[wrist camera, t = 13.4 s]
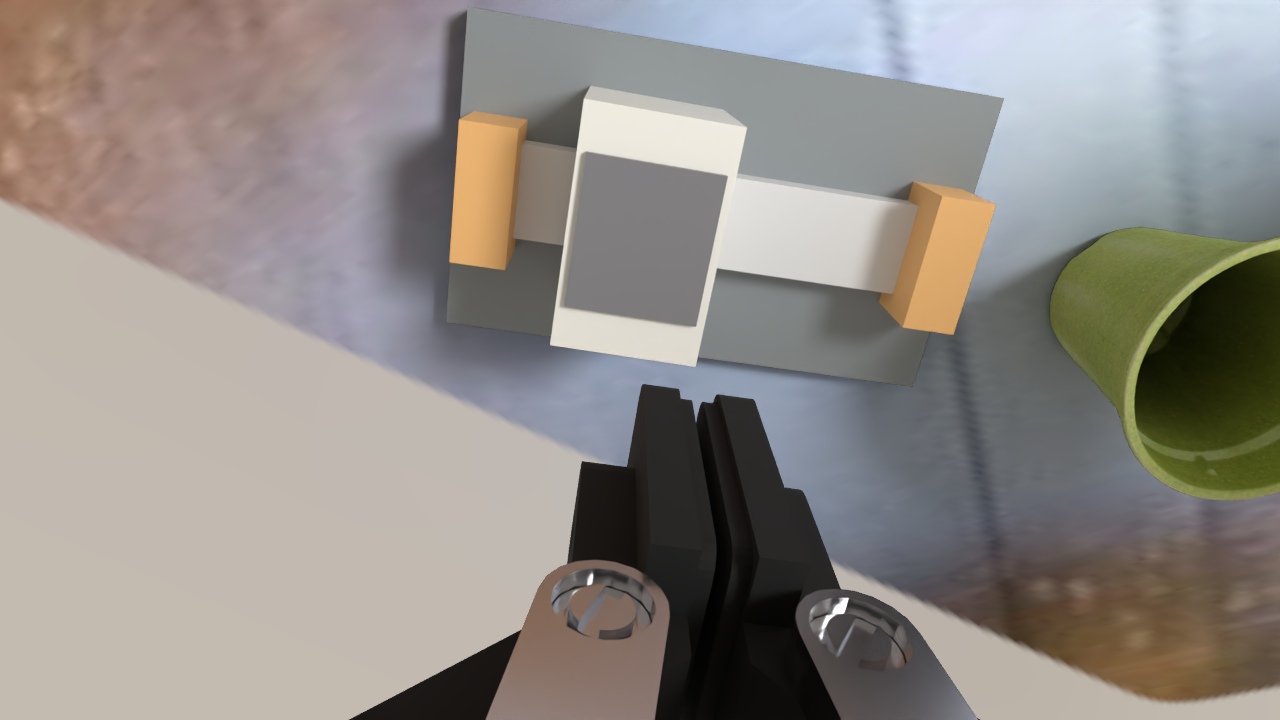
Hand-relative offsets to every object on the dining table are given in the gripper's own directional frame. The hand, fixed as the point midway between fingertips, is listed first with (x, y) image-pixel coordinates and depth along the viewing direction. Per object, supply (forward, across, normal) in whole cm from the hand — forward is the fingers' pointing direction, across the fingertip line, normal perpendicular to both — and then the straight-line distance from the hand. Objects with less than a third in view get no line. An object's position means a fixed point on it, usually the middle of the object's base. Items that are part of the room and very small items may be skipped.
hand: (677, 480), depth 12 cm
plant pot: (+22, -21, +1) cm, 30 cm away
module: (+21, 0, 0) cm, 21 cm away
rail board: (+22, -3, 0) cm, 22 cm away
